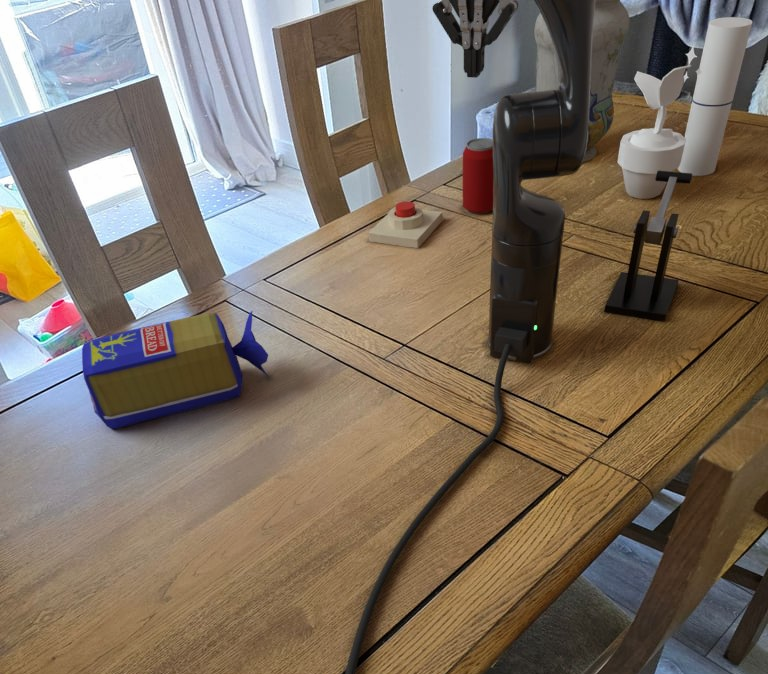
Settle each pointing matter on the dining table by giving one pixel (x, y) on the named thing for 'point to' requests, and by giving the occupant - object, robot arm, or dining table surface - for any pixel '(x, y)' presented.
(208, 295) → the dining table surface
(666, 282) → the bracket
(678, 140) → the potted plant
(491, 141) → the beverage can
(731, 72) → the cylindrical container
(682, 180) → the lever
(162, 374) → the bread
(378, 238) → the button box
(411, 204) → the button
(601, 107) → the vase
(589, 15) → the robot arm
